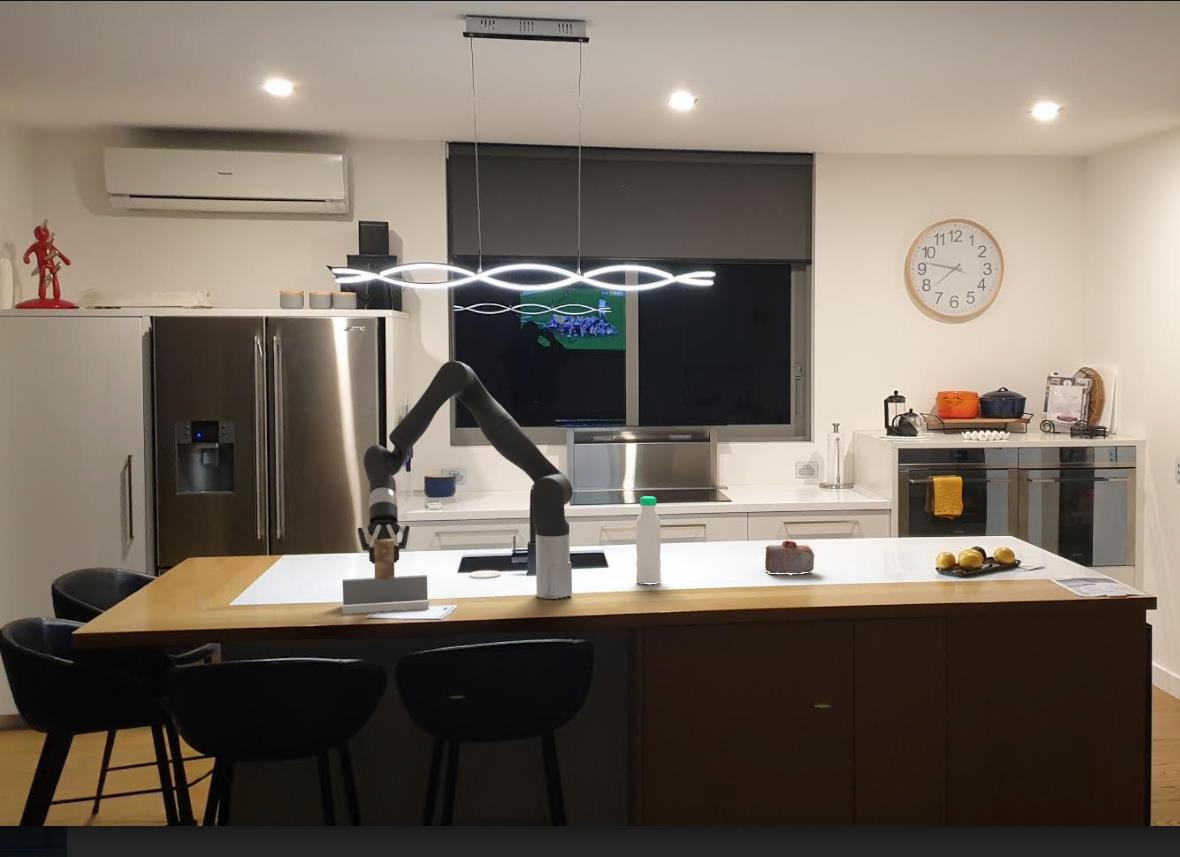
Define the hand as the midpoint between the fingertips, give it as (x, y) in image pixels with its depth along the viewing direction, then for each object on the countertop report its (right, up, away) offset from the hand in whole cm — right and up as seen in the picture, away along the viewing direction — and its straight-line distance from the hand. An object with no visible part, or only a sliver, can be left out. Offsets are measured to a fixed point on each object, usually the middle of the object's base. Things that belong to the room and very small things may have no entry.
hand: (384, 561), depth 258 cm
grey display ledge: (0, -13, +4) cm, 13 cm away
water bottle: (+71, -10, +28) cm, 77 cm away
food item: (+113, -9, +39) cm, 120 cm away
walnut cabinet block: (0, -5, +2) cm, 5 cm away
